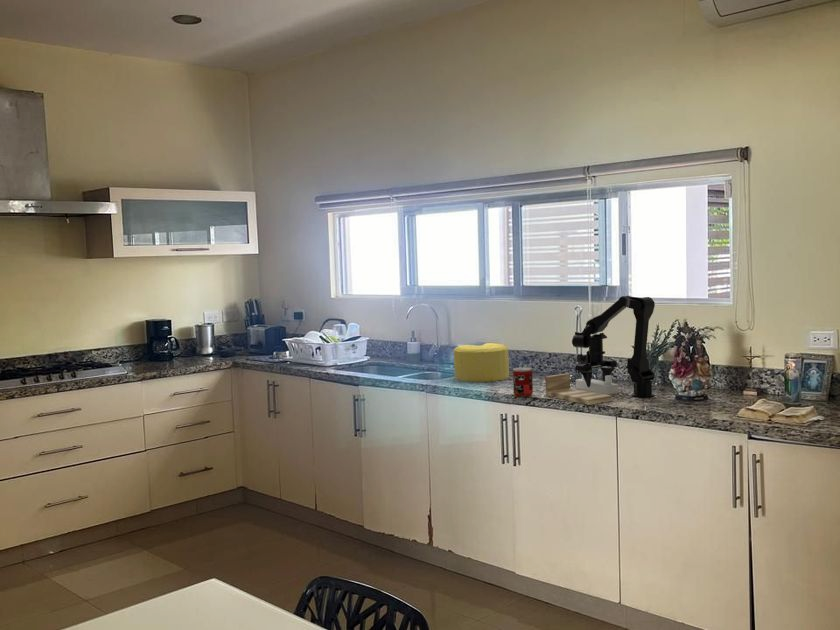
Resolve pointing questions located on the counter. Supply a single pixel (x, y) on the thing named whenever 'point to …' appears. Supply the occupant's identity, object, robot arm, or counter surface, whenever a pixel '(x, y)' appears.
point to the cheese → (481, 362)
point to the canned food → (522, 381)
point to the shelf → (572, 391)
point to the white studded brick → (598, 385)
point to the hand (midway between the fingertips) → (596, 385)
